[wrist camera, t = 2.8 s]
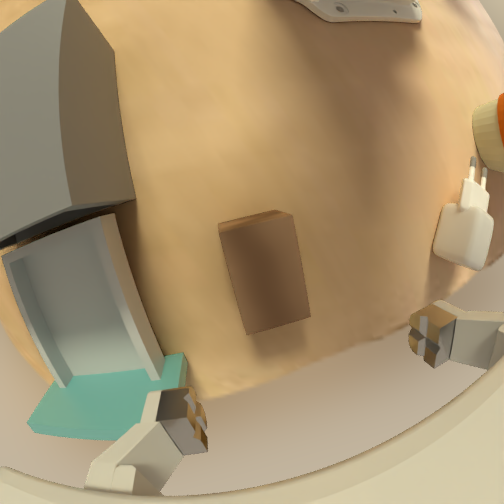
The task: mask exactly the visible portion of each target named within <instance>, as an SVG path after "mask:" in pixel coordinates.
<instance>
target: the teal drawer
mask: <svg viewBox="0 0 504 504" xmlns="http://www.w3.org/2000/svg"><path fill="white" fill-rule="evenodd" d="M1 257H2V260H3V264H4V267H5V270H6V274H7V277H8V280H9V283H10V286H11V289H12V291H13V294H14V297H15V299H16V302H17V305H18V307H19V310H20V312H21V314H22V317H23V319H24V321H25V324H26V326H27V328H28V330H29V332H30V335H31V337H32V339H33V341H34V343H35V345H36V347H37V349H38V351H39V353H40V354H41V356H42V358H43V360H44V362H45V364H46V365H47V367H48V369H49V371H50V372H51V374H52V376H53V377H54V379H55V381H54V382H53V383H52V385H51V386H50V388H49V389H48V391H47V392H46V394H45V395H44V397H43V398H42V400H41V401H40V403H39V404H38V406H37V407H36V409H35V410H34V412H33V414H32V415H31V417H30V418H29V420H28V422H27V424H28V425H29V426H30V427H31V429H32V430H33V431H34V432H35V433H39V434H46V435H53V436H59V437H68V438H78V439H91V440H118V439H119V438H120V437H121V436H123V435H124V434H125V433H126V432H127V431H128V430H129V429H130V428H132V427H133V426H134V425H135V424H136V423H140V421H141V417H142V413H143V409H144V405H145V401H146V398H147V394H148V393H149V392H150V391H158V390H165V389H172V388H179V387H185V383H186V374H187V366H188V362H187V360H186V358H185V355H184V353H178V354H172V355H167V356H163V354H162V351H161V349H160V347H159V344H158V342H157V340H156V337H155V335H154V333H153V330H152V328H151V325H150V323H149V320H148V318H147V315H146V312H145V310H144V307H143V304H142V302H141V299H140V296H139V293H138V291H137V288H136V285H135V282H134V279H133V276H132V273H131V270H130V267H129V264H128V260H127V257H126V254H125V251H124V247H123V244H122V240H121V237H120V233H119V229H118V226H117V222H116V218H115V214H114V213H112V214H108V215H104V216H99V217H97V218H94V219H91V220H88V221H85V222H83V223H80V224H77V225H74V226H72V227H69V228H66V229H64V230H61V231H59V232H56V233H54V234H51V235H49V236H46V237H44V238H41V239H39V240H36V241H34V242H32V243H29V244H27V245H25V246H22V247H20V248H18V249H16V250H13V251H11V252H9V253H7V254H5V255H3V256H1Z"/></svg>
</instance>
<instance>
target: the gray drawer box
mask: <svg viewBox="0 0 504 504" xmlns="http://www.w3.org/2000/svg"><path fill="white" fill-rule="evenodd" d="M134 199H136V195H135V191H134V187H133V182H132V177H131V173H130V168H129V163H128V157H127V152H126V147H125V141H124V135H123V129H122V122H121V115H120V108H119V100H118V91H117V82H116V71H115V57H114V50H113V49H112V47H111V46H110V45H109V43H108V42H107V40H106V39H105V38H104V36H103V35H102V33H101V32H100V31H99V29H98V28H97V26H96V25H95V24H94V22H93V21H92V19H91V18H90V17H89V15H88V14H87V13H86V11H85V10H84V8H83V7H82V6H81V4H80V3H79V1H78V0H46V1H45V2H43V3H41V4H40V5H38V6H37V7H35V8H34V9H32V10H30V11H29V12H28V13H26V14H25V15H23V16H22V17H20V18H19V19H18V20H16V21H15V22H13V23H12V24H11V25H9V26H8V27H7V28H6V29H4V30H3V31H2V32H1V33H0V250H2V249H5V248H7V247H10V246H13V245H16V244H18V243H20V242H23V241H25V240H27V239H29V238H32V237H34V236H36V235H38V234H41V233H43V232H46V231H48V230H50V229H53V228H55V227H58V226H60V225H63V224H65V223H68V222H71V221H73V220H76V219H78V218H81V217H84V216H87V215H89V214H92V213H95V212H98V211H101V210H103V209H106V208H109V207H112V206H115V205H118V204H121V203H124V202H127V201H130V200H134Z"/></svg>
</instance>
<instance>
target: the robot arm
mask: <svg viewBox="0 0 504 504" xmlns="http://www.w3.org/2000/svg"><path fill="white" fill-rule="evenodd" d="M295 1H297V2H299V3H301V4H303V5H304V6H306V7H307V8H308V9H310V10H311V11H312V12H313V13H315V14H316V15H318V16H319V17H320V18H322V19H324V20H326V21H329V22H346V21H393V22H408V23H419V22H420V21H421V20H422V11H421V7H420V4H419V2H418V0H295ZM339 11H340V12H339ZM409 325H410V326H411V327H412V329H411V331H410V333H409V345H410V348H411V349H412V351H413V352H414V353H415V354H416V355H420V356H423V357H424V361H425V362H426V363H428V364H429V365H430V366H431V367H433V368H436V367H438V366H439V365H441V364H443V363H444V362H446V361H447V360H449V359H450V360H451V361H455V362H459V363H462V364H466V365H470V366H474V367H478V368H483V369H487V372H486V373H484V374H483V375H482V376H481V377H480V378H479V379H477V380H476V381H475V382H474V383H473V384H472V385H470V386H469V387H468V388H467V389H465V390H464V391H463V392H462V393H461V394H459V395H458V396H456V397H455V398H454V399H453V400H451V401H450V402H448V403H447V404H446V405H444V406H443V407H442V408H440V409H439V410H437V411H436V412H434V413H433V414H431V415H430V416H428V417H427V418H425V419H424V420H422V421H421V422H419V423H418V424H416V425H414V426H412V427H411V428H409V429H407V430H405V431H404V432H402V433H400V434H398V435H397V436H395V437H393V438H391V439H389V440H387V441H386V442H383V443H381V444H379V445H377V446H375V447H373V448H371V449H369V450H367V451H365V452H363V453H360V454H358V455H356V456H353V457H351V458H349V459H346V460H344V461H341V462H339V463H336V464H333V465H331V466H328V467H326V468H322V469H320V470H317V471H314V472H311V473H307V474H304V475H301V476H298V477H294V478H291V479H287V480H283V481H279V482H275V483H271V484H267V485H262V486H257V487H253V488H247V489H241V490H235V491H228V492H221V493H212V494H202V495H189V496H188V495H187V496H164V495H162V493H161V492H160V491H161V489H162V488H163V486H164V485H165V483H166V482H167V481H168V479H169V478H170V476H171V475H172V473H173V472H174V470H175V469H176V467H177V466H178V465H179V463H180V462H181V460H182V458H183V455H191V454H198V453H204V452H208V442H207V436H206V435H205V433H204V431H205V430H206V429H207V421H206V416H205V412H204V410H203V407H202V405H201V403H199V402H197V401H196V393H195V391H194V389H193V387H191V386H186V387H179V388H172V389H165V390H158V391H150V392H149V393H148V394H147V398H146V401H145V405H144V409H143V413H142V417H141V421H140V423H136V424H135V425H134V426H133V427H132V428H130V429H129V430H128V431H127V432H126V433H125V434H124V435H123V436H121V437H120V438H119V439H118V440H117V441H116V442H115V443H114V444H112V445H111V446H110V447H109V448H108V449H107V450H105V451H104V452H103V453H102V454H101V455H100V456H99V457H97V458H96V459H95V460H94V461H93V462H92V463H91V466H90V470H89V473H88V476H87V479H86V482H85V486H84V489H81V488H76V487H71V486H67V485H62V484H58V483H55V482H50V481H47V480H43V479H40V478H37V477H34V476H31V475H28V474H25V473H22V472H20V471H17V470H15V469H12V468H9V467H0V504H504V312H489V311H467V312H465V311H463V310H461V309H459V308H457V307H455V306H453V305H451V304H449V303H447V302H445V301H443V300H437V301H435V302H433V303H432V304H430V305H429V306H427V307H425V308H423V309H421V310H419V311H417V312H415V313H413V314H411V316H410V319H409Z"/></svg>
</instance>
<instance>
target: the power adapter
mask: <svg viewBox="0 0 504 504" xmlns="http://www.w3.org/2000/svg"><path fill="white" fill-rule="evenodd" d="M475 168H476V158H475V157H474V156H472V157H471V160H470V171H469V176H468V178H464V179H462V184H461V190H460V195H459V201H458V203H447V204H445V205H444V206H443V208H442V211H441V215H440V219H439V223H438V227H437V231H436V234H435V238H434V242H433V252H434V253H435V255H437V256H439V257H441V258H443V259H445V260H448V261H450V262H453V263H455V264H458V265H461V266H463V267H466V268H469V269H472V270H475V271H480V270H481V269H482V268H483V266H484V264H485V261H486V258H487V254H488V250H489V246H490V242H491V238H492V233H493V227H494V219H493V218H492V217H491V216H490V215H489V214H488V213H487V209H488V203H489V197H490V195H489V193H488V192H487V191H485V188H486V187H485V186H486V179H487V171H488V170H487V168H485V167H483V168H482V175H481V185H479V184H478V183H477V182H475V181H474V174H475Z"/></svg>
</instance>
